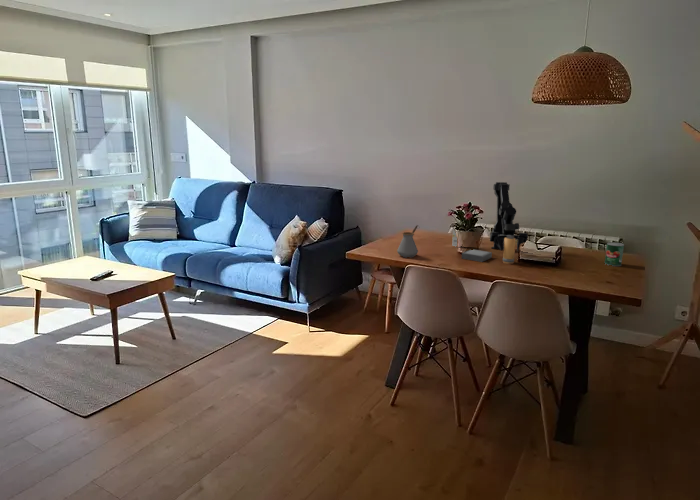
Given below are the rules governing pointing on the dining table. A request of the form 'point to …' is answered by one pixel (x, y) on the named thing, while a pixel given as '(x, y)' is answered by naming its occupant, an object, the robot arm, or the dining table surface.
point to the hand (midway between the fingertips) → (509, 250)
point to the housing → (509, 249)
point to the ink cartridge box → (454, 239)
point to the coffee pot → (408, 245)
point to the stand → (476, 255)
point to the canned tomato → (614, 253)
